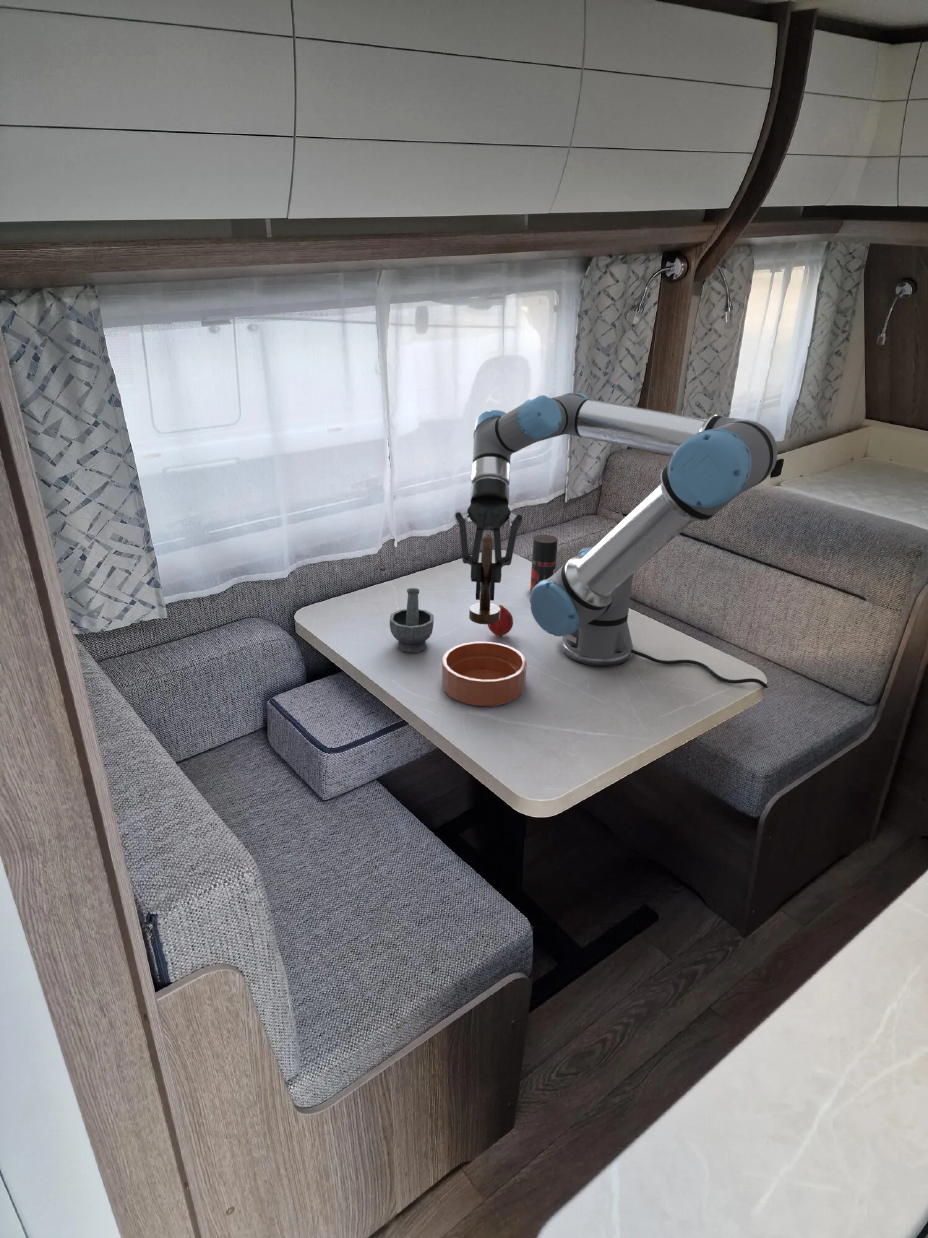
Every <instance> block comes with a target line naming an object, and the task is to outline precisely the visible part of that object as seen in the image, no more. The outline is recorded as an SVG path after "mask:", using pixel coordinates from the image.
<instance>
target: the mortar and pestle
mask: <svg viewBox="0 0 928 1238" xmlns="http://www.w3.org/2000/svg"><path fill="white" fill-rule="evenodd" d="M406 593H407V602H406V608H402V609H399V610H396V611H395V612H393V613H390V616H389V629H390V633H391V634H392V636H393V637H394V639H396V640H397V641H398V644H397V648H398V649H399V650H401V651H402V652H406V653H417V652H422V651H423V650H425V649H426V645H427V642H426V641H427V640H429V638H431V635H432V634H433V629H434V621H435V620H434V619H435V616H434V614H433V613H431V612H429V610H427V609H421V608H420V607H419V594H420V589H419V588H417V587H409V588H407V589H406Z"/></svg>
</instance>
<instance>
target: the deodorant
mask: <svg viewBox="0 0 928 1238" xmlns="http://www.w3.org/2000/svg"><path fill="white" fill-rule="evenodd" d="M558 543H559V539H558V537H556V536H555V535H550V534H537V535H535V536H533V538H532V554H531V555H532V556H531V557H532V558H531V569H530V571H531V572H530V587H529V595H530V594H531V592H532V589H533V588H534V587H535V586H536V585H537V584H538V583H539V582H540V581H542V580H546V579H548V578H550V577H551V576H552V575H554V574H555V573H556V570H557V569H556V567H557V554H558Z"/></svg>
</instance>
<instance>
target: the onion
mask: <svg viewBox="0 0 928 1238" xmlns="http://www.w3.org/2000/svg"><path fill="white" fill-rule="evenodd" d="M498 606H499V607H500V619H499V621H498V622H496V623H493V624H487V627H488V629H489V630H490V632H492V633H493V634H494V635H495V636H496V637H498V638H502V637H503V636H505V635H507V634H508V633H509V632H510V631H511V630H512V628H513V626H514V618H513V615H512V613H511V612H510V611H509V610H508V608H506V607H504V605H502V604H498Z"/></svg>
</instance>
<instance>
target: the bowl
mask: <svg viewBox="0 0 928 1238" xmlns="http://www.w3.org/2000/svg"><path fill="white" fill-rule="evenodd" d="M441 659H442V661H441V663H442V664H441V683H442V684H441V686H442V689H443V690H444V692H445V693H446V695H447V696H449V697H450V698H452V699H454V700H455V701H458V702H461V703H463V704H467V705H473V706H479V707H489V706H490V707H491V706H494V707H495V706H499V705H505V704H509V703H511V702H512V701H515V700H517V699H518V698H520V696H522V694H524V692H525V688H526V684H527V683H526V680H527V666H528V663H527V659H526V656H525V655H524V654H523V653H522V652H521V651H520V650H518V649H516V648H514V647H512V646H510V645H507V644H503V643H500V642H493V641H470V642H464V643H460V644H458V645H455V646H452V647H451V648H450V649H448V650H447V651H446V652H445V653H444V655H443V656H442V658H441Z"/></svg>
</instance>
